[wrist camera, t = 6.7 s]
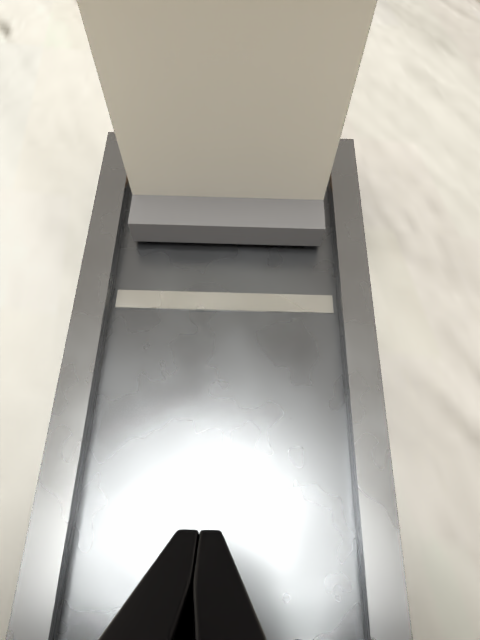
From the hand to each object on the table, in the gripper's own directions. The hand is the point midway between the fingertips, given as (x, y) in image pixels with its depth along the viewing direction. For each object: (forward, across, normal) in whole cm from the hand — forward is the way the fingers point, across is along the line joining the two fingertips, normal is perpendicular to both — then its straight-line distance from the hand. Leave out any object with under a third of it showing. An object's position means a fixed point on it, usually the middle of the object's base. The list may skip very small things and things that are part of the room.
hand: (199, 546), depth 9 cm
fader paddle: (+14, 0, -6) cm, 15 cm away
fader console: (+10, 0, +2) cm, 11 cm away
